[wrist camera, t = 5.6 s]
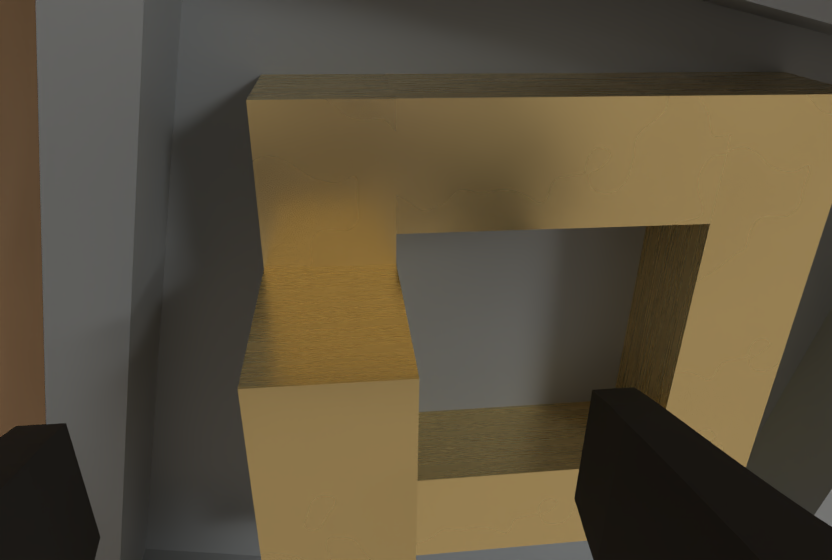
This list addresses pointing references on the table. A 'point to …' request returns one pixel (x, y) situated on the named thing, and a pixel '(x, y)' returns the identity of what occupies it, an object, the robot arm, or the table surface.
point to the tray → (415, 253)
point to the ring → (499, 211)
